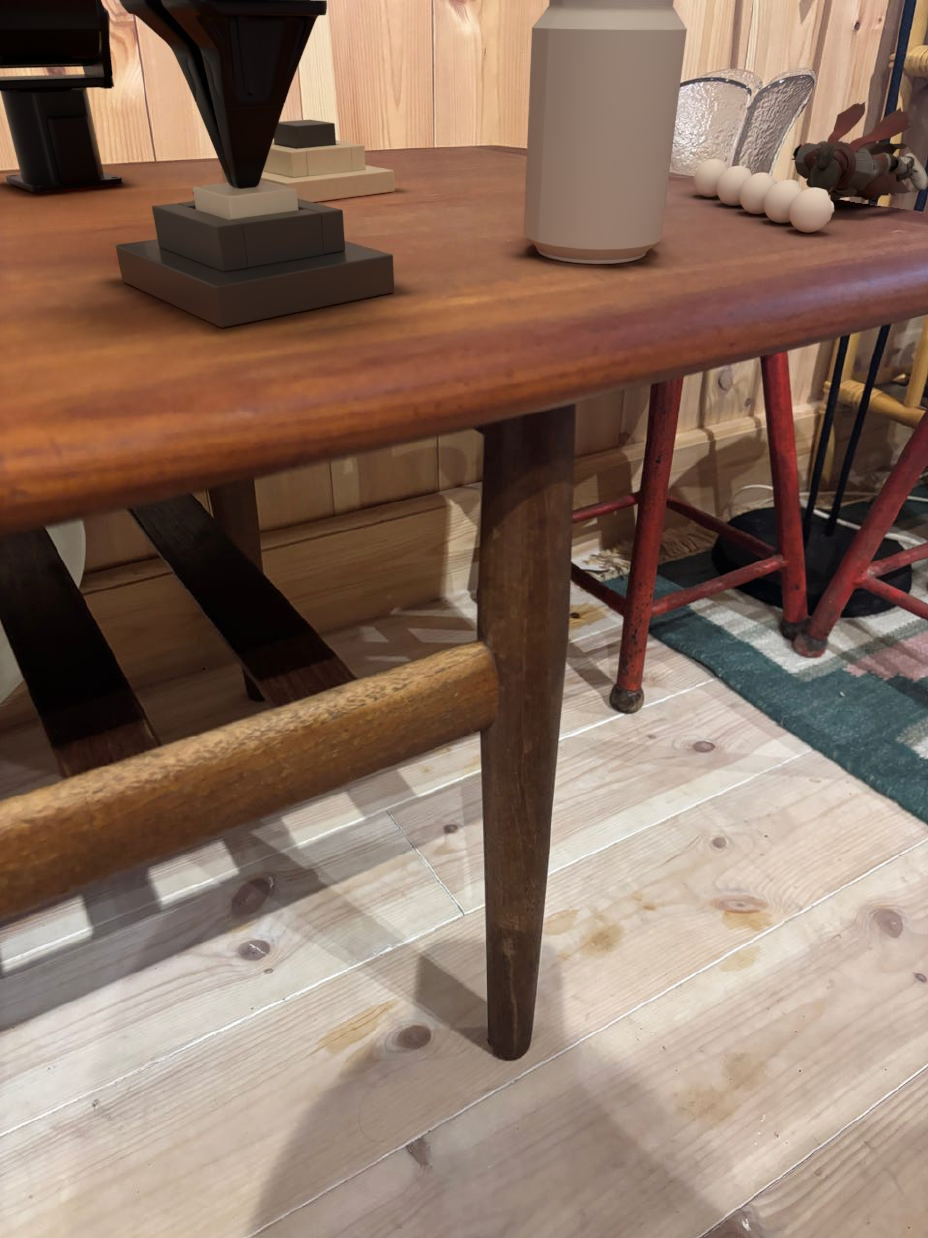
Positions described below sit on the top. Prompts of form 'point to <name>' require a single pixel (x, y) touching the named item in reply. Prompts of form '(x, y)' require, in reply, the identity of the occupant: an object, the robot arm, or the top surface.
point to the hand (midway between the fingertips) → (244, 186)
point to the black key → (305, 134)
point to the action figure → (860, 160)
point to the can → (601, 127)
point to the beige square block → (245, 200)
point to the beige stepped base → (326, 172)
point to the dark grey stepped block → (253, 263)
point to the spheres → (765, 195)
